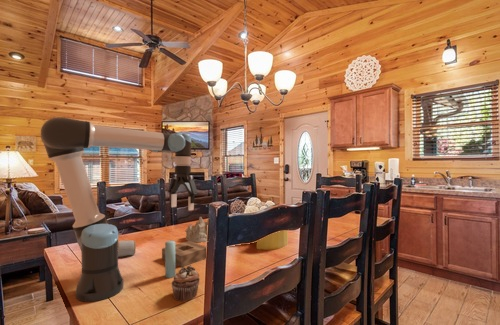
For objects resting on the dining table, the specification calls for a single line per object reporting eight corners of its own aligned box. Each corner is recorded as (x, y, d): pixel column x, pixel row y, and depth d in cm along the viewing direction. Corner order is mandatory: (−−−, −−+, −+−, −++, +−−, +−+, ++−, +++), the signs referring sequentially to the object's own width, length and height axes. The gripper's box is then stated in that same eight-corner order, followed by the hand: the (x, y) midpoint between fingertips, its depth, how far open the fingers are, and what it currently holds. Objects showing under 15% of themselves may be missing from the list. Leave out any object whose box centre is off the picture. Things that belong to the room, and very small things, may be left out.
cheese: (240, 248, 144) (239, 221, 144) (246, 235, 170) (246, 212, 170) (288, 250, 141) (288, 222, 141) (287, 236, 167) (287, 212, 167)
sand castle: (219, 238, 162) (217, 214, 162) (194, 245, 151) (193, 219, 152) (205, 235, 174) (204, 212, 174) (182, 240, 163) (180, 216, 164)
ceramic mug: (136, 256, 133) (135, 241, 133) (117, 259, 129) (117, 243, 129) (134, 250, 142) (134, 236, 142) (117, 252, 138) (117, 238, 138)
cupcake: (190, 286, 101) (190, 260, 101) (204, 295, 94) (204, 267, 94) (166, 295, 94) (166, 267, 94) (179, 305, 87) (179, 275, 87)
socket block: (181, 267, 119) (181, 256, 119) (162, 258, 129) (161, 248, 129) (208, 257, 131) (208, 247, 131) (189, 250, 141) (189, 241, 141)
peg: (168, 278, 107) (168, 244, 107) (163, 276, 110) (163, 242, 110) (177, 275, 110) (177, 241, 110) (171, 272, 113) (171, 240, 113)
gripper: (205, 165, 126) (205, 210, 125) (174, 165, 141) (173, 204, 141) (193, 165, 120) (192, 212, 120) (161, 164, 135) (160, 206, 135)
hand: (182, 208), depth 130 cm, fingers open, 13 cm apart
